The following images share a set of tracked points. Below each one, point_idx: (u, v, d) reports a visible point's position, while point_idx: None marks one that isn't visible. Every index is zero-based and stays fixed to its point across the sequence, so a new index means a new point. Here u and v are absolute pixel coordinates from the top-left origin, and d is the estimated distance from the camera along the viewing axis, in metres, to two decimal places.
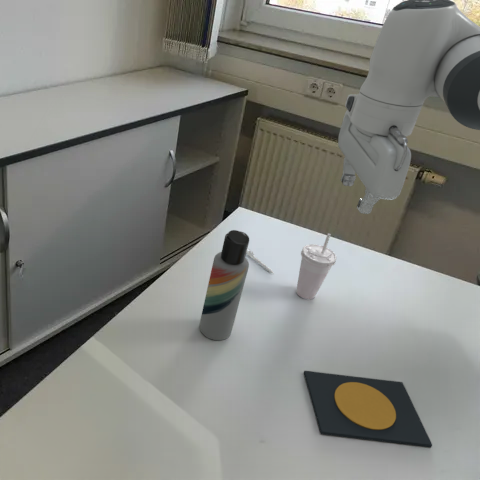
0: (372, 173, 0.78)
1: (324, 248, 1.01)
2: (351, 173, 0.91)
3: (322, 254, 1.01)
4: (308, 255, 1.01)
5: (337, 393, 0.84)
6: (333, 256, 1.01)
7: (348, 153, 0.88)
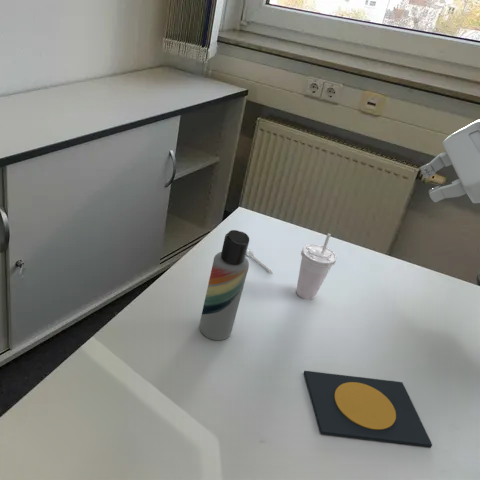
0: (479, 170, 0.79)
1: (324, 248, 1.01)
2: (434, 168, 0.92)
3: (322, 254, 1.01)
4: (308, 255, 1.01)
5: (337, 393, 0.84)
6: (333, 256, 1.01)
7: (455, 149, 0.89)
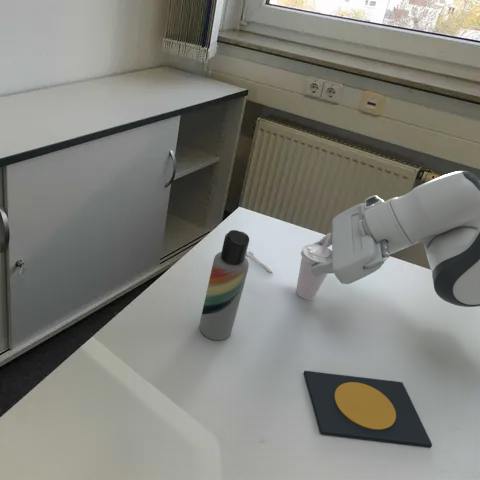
0: (346, 256, 0.93)
1: (324, 248, 1.01)
2: None
3: (322, 254, 1.01)
4: (308, 255, 1.01)
5: (337, 393, 0.84)
6: None
7: (337, 230, 1.02)
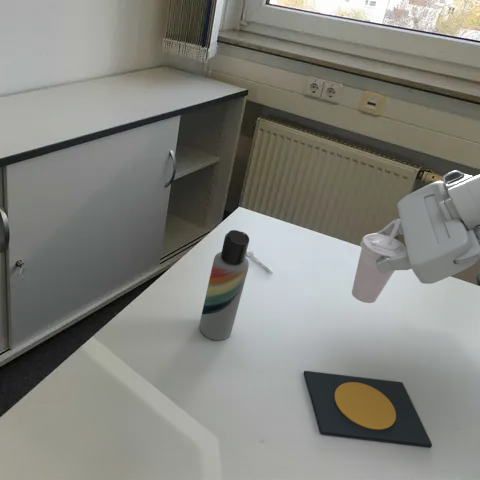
0: (428, 247, 0.71)
1: (391, 238, 0.79)
2: None
3: (389, 246, 0.79)
4: (371, 247, 0.79)
5: (337, 393, 0.84)
6: (403, 248, 0.80)
7: (407, 215, 0.80)
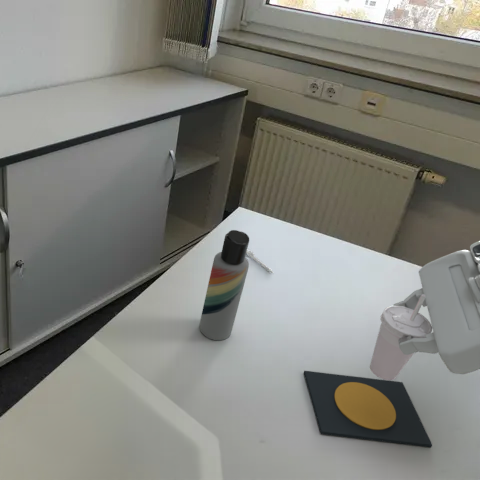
0: (459, 333, 0.64)
1: (415, 314, 0.73)
2: (409, 308, 0.77)
3: (412, 322, 0.73)
4: (393, 324, 0.73)
5: (337, 393, 0.84)
6: (427, 325, 0.73)
7: (432, 288, 0.74)
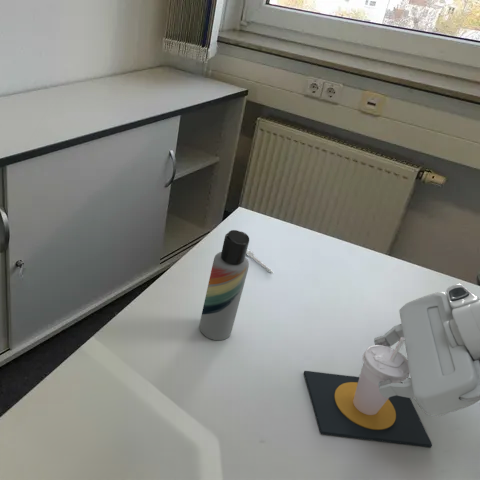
0: (433, 378, 0.69)
1: (395, 355, 0.77)
2: (389, 342, 0.82)
3: (392, 362, 0.77)
4: (374, 364, 0.77)
5: (337, 393, 0.84)
6: (406, 365, 0.77)
7: (410, 329, 0.78)
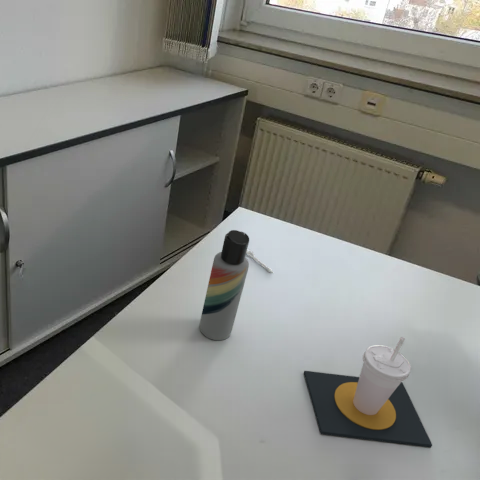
0: None
1: (395, 355, 0.77)
2: None
3: (392, 362, 0.77)
4: (374, 364, 0.77)
5: (337, 393, 0.84)
6: (406, 365, 0.77)
7: None
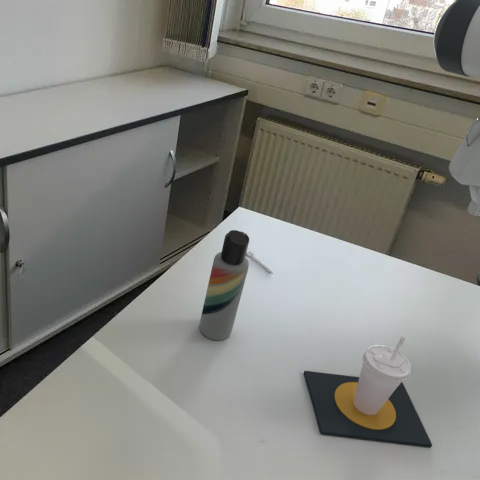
0: None
1: (395, 355, 0.77)
2: None
3: (392, 362, 0.77)
4: (374, 364, 0.77)
5: (337, 393, 0.84)
6: (406, 365, 0.77)
7: None
